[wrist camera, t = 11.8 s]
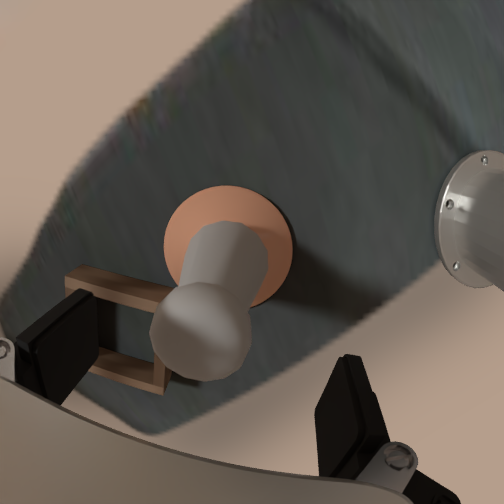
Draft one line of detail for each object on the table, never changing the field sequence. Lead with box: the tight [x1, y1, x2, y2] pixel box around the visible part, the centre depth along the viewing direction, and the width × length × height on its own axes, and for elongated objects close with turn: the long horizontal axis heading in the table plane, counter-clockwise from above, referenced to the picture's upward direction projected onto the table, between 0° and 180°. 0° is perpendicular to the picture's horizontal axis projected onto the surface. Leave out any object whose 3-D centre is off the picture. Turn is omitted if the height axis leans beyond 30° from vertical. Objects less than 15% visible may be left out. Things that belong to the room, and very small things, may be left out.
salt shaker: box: [149, 221, 268, 382], centre depth 18 cm, size 6×6×13 cm
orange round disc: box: [164, 186, 293, 307], centre depth 24 cm, size 10×10×1 cm
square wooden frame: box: [65, 264, 174, 395], centre depth 26 cm, size 10×10×3 cm
